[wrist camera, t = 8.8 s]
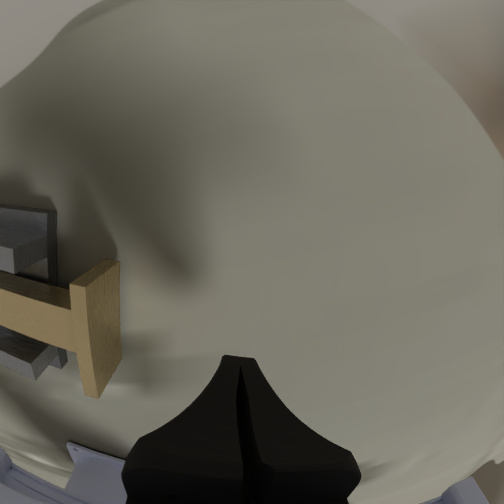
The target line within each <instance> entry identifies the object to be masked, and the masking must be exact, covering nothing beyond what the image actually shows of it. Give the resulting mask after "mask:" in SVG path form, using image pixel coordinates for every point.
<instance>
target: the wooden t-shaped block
mask: <svg viewBox="0 0 504 504" xmlns="http://www.w3.org/2000/svg"><path fill="white" fill-rule="evenodd" d="M69 286H70V290H68V289H64V288H60V287H56V286H52V285H48V284H45V283H41V282H37V281H33V280H30V279H26V278H23V277H19V276H16V275H12V274H9V273H5V272H2V271H0V325H2V326H4V327H6V328H9V329H11V330H14V331H16V332H19V333H21V334H24V335H26V336H29V337H31V338H34V339H37V340H40V341H42V342H45V343H48V344H51V345H54V346H57V347H60V348H63V349H66V350H69V351H72V352H75V353H77V358H78V364H79V369H80V375H81V380H82V385H83V389H84V394H85V395H87V396H90V397H93V398H96V399H99V398H100V396H101V394H102V392H103V391H104V389H105V387H106V385H107V384H108V382H109V380H110V378H111V377H112V375H113V373H114V372H115V370H116V368H117V367H118V365H119V363H120V362H121V360H122V350H121V332H120V261H116V260H110V259H105V260H104V261H102V262H101V263H99V264H98V265H96V266H95V267H93V268H92V269H90V270H89V271H87V272H86V273H84V274H83V275H81V276H80V277H78V278H77V279H76V280H74V281H73V282H71V283H70V284H69Z"/></svg>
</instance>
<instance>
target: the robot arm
mask: <svg viewBox="0 0 504 504" xmlns="http://www.w3.org/2000/svg"><path fill="white" fill-rule="evenodd" d="M66 446H67V449H68V451H69V453H70V455H71V458H72V460H73V462H74V464H75V468H74V470H73V472H72V474H71V476H70V478H69V481H68V483H67V485H66V487H65V489H63V488H60V487H58V486H56V485H54V484H52V483H50V482H47V481H45V480H43V479H41V478H39V477H37V476H35V475H34V474H32V473H30V472H28V471H26V470H24V469H22V468H21V467H19V466H17V465H15V464H14V463H12V460H11V458H10V457H9V455H8V454H7V453H6V452H5V451H4V450H3V449H2V448H1V447H0V504H348V500H347V497H348V496H349V495H350V494H351V493H352V491H353V490H354V489H355V488H356V486H357V485H358V484H359V482H360V480H361V472H360V470H359V467H358V465H357V462H356V460H355V458H354V457H353V455H352V453H351V451H348V450H346V449H344V448H342V447H340V446H338V445H336V444H334V443H332V442H330V441H329V440H327V439H325V438H324V437H322V436H321V435H319V434H317V433H316V432H315V431H313V430H312V429H310V428H309V427H308V426H307V425H305V424H304V423H303V422H302V421H300V420H299V419H298V418H297V417H296V416H295V415H294V414H293V413H292V412H291V411H290V410H289V409H288V408H287V407H286V406H285V405H284V403H283V402H282V401H281V400H280V398H279V397H278V396H277V395H276V393H275V392H274V390H273V389H272V388H271V386H270V385H269V383H268V382H267V380H266V378H265V377H264V375H263V373H262V371H261V370H260V368H259V366H258V364H257V362H256V360H255V359H254V358H247V357H238V356H230V355H224V356H222V360H221V363H220V365H219V367H218V369H217V371H216V373H215V374H214V376H213V378H212V379H211V381H210V382H209V384H208V385H207V386H206V388H205V389H204V390H203V391H202V393H201V394H200V395H199V396H198V397H197V398H196V399H195V401H194V402H193V403H192V404H191V405H189V406H188V407H187V408H186V409H185V410H184V411H183V412H182V413H180V414H179V415H178V416H177V417H175V418H174V419H172V420H171V421H169V422H168V423H166V424H165V425H163V426H162V427H160V428H158V429H157V430H155V431H153V432H151V433H149V434H146V435H144V436H142V437H140V438H139V439H138V441H137V442H136V443H135V445H134V446H133V448H132V449H131V451H130V453H129V454H128V456H127V458H126V460H122V459H119V458H115V457H112V456H109V455H105V454H102V453H99V452H96V451H93V450H90V449H88V448H85V447H82V446H79V445H77V444H74V443H72V442H67V444H66ZM421 504H489V502H488V501H487V499H486V498H485V496H484V494H483V493H482V491H481V490H480V488H479V487H478V485H477V483H476V482H475V480H474V479H473V477H469V478H466V479H464V480H462V481H459V482H457V483H455V484H453V485H452V486H450V487H449V488H448V489H447V490H446V491H445V492H444V493H443V494H442V495H441V496H440V497H437V498H434V499H432V500H429V501H426V502H423V503H421Z"/></svg>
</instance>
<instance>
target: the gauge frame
mask: <svg viewBox="0 0 504 504" xmlns="http://www.w3.org/2000/svg"><path fill="white" fill-rule="evenodd" d="M56 225H57V211H51V210H43V209H34V208H26V207H18V206H9V205H0V271H2V272H5V273H9V274H12V275H16V276H19V277H23V278H26V279H30V280H33V281H37V282H41V283H45V284H48V285H52V286H56V287H58V278H57V252H56ZM67 362H68V359H67V354H66V349H63V348H60V347H57V346H54V345H51V344H48V343H45V342H42V341H40V340H37V339H34V338H31V337H29V336H26V335H24V334H21V333H19V332H16V331H14V330H11V329H9V328H6V327H4V326H2V325H0V364H1V365H3V366H5V367H7V368H9V369H11V370H13V371H15V372H18V373H20V374H22V375H24V376H26V377H28V378H31V379H33V380H35V381H36V379H37V378H38V377H39V376H40V375H41V374H42V372H43V371H44V370H45V369H46V368H47V367H48V366H49V365H51V366H54V367H57V368H60V369H62V368H63V367H64V365H65V364H66V363H67Z"/></svg>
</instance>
